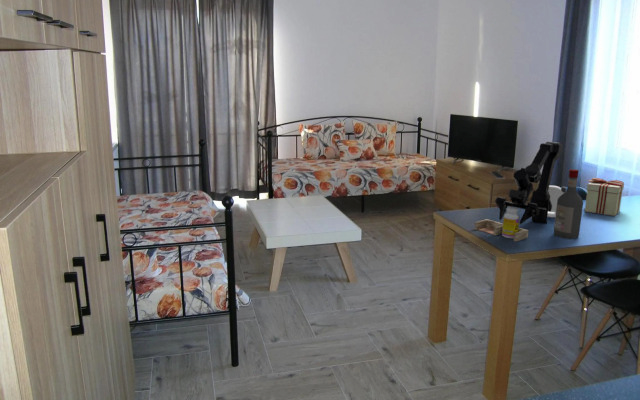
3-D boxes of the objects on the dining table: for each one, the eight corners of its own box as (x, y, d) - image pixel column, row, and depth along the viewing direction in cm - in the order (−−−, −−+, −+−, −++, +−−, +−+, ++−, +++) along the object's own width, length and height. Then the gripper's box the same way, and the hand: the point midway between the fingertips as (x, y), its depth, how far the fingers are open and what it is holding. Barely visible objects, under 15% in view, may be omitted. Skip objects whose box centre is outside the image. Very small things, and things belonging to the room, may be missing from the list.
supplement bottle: (515, 239, 234) (518, 211, 231) (500, 237, 237) (502, 209, 234) (519, 235, 239) (521, 208, 236) (503, 233, 243) (506, 206, 239)
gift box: (620, 209, 285) (625, 177, 281) (618, 217, 270) (622, 183, 265) (585, 204, 294) (589, 174, 289) (581, 212, 279) (585, 179, 274)
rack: (527, 237, 237) (528, 230, 236) (516, 241, 232) (516, 233, 231) (486, 226, 254) (486, 219, 253) (474, 229, 248) (475, 222, 248)
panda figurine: (563, 213, 276) (567, 184, 273) (562, 218, 267) (565, 189, 263) (538, 210, 282) (542, 182, 278) (536, 215, 272) (539, 186, 268)
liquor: (566, 239, 234) (575, 172, 227) (550, 234, 242) (557, 168, 235) (581, 237, 238) (590, 171, 230) (565, 231, 246) (573, 167, 238)
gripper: (498, 179, 241) (485, 207, 236) (539, 185, 229) (526, 215, 224) (504, 193, 249) (491, 221, 244) (545, 200, 236) (532, 229, 231)
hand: (509, 221), depth 235 cm, fingers open, 9 cm apart
